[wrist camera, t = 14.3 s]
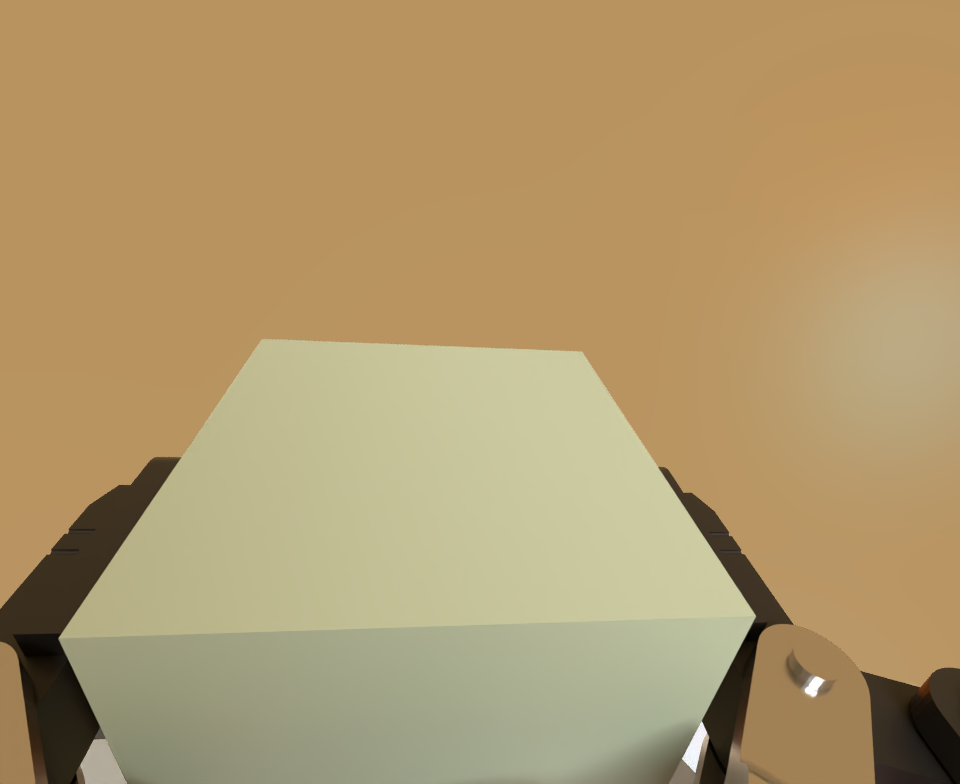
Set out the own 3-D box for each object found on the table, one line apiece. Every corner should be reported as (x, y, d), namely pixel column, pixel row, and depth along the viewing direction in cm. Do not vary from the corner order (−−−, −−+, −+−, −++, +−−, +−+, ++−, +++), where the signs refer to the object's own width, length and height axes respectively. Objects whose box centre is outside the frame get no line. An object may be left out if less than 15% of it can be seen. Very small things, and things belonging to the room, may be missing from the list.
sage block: (235, 1011, 9) (58, 638, 4) (304, 675, 14) (262, 338, 9) (572, 969, 10) (756, 615, 5) (518, 666, 15) (581, 351, 10)
